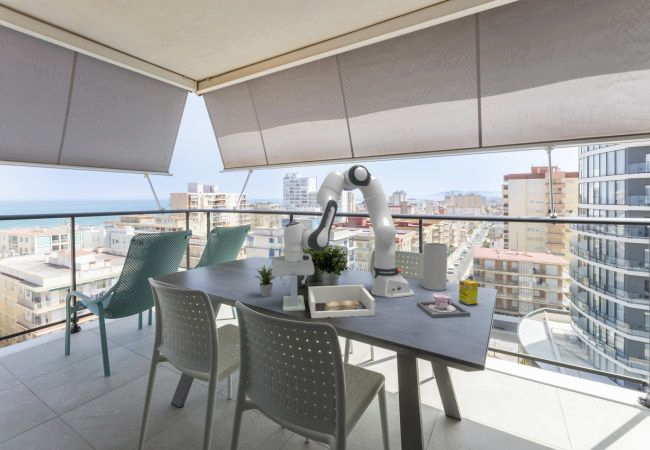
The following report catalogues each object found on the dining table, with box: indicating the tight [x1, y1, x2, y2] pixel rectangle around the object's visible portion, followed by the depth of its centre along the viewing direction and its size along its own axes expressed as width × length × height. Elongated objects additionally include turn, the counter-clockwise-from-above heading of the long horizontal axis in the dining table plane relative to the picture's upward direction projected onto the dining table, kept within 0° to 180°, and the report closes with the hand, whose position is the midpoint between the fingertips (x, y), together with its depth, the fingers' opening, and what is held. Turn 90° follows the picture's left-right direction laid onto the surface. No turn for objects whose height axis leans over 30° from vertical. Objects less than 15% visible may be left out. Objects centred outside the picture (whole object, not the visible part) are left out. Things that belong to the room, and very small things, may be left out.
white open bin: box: [307, 284, 376, 319], centre depth 153 cm, size 28×22×8 cm
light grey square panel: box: [289, 274, 298, 306], centre depth 160 cm, size 14×3×14 cm, turn 7°
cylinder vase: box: [422, 242, 448, 292], centre depth 186 cm, size 12×12×25 cm
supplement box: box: [458, 279, 479, 307], centre depth 160 cm, size 6×6×11 cm
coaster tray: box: [416, 300, 471, 319], centre depth 150 cm, size 17×17×2 cm
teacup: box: [427, 292, 457, 313], centre depth 153 cm, size 12×12×6 cm
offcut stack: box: [324, 300, 361, 311], centre depth 148 cm, size 15×6×4 cm, turn 104°
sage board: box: [282, 294, 306, 312], centre depth 160 cm, size 10×20×1 cm, turn 7°
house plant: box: [254, 264, 278, 297], centre depth 173 cm, size 14×14×16 cm
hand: (293, 284), depth 160 cm, fingers open, 8 cm apart
